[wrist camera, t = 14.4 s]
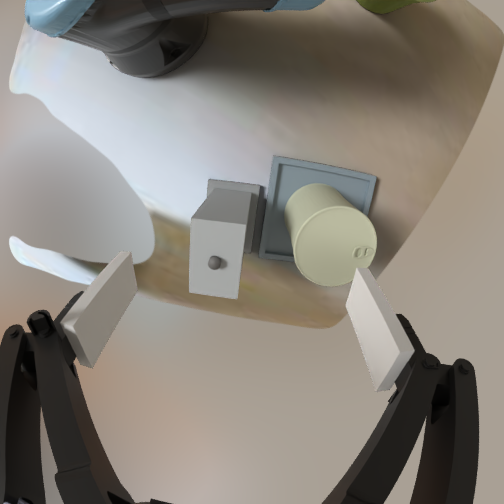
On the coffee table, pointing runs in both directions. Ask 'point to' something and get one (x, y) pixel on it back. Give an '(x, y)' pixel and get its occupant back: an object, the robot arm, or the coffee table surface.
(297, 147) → the coffee table surface
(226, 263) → the box
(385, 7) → the plant pot
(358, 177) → the tray
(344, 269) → the can
